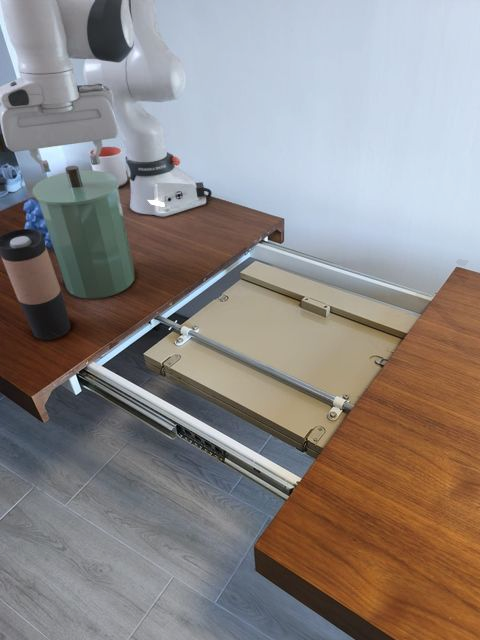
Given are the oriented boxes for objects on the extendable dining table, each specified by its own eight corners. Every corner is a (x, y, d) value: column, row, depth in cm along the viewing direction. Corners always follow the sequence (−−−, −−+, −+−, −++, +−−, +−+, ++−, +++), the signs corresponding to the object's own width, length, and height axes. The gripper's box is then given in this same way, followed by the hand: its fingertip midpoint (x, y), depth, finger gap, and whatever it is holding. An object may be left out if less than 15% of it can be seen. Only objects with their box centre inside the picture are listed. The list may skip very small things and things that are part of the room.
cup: (120, 190, 148) (113, 158, 141) (90, 188, 149) (82, 155, 143) (132, 179, 155) (127, 147, 149) (104, 176, 157) (98, 145, 150)
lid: (108, 171, 104) (103, 148, 101) (129, 198, 93) (124, 174, 89) (28, 184, 98) (21, 161, 95) (41, 215, 87) (33, 190, 84)
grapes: (21, 244, 121) (4, 199, 113) (45, 235, 125) (31, 191, 117) (43, 260, 115) (27, 213, 108) (68, 250, 119) (55, 204, 111)
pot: (124, 256, 117) (105, 169, 103) (143, 287, 106) (125, 194, 92) (60, 272, 111) (31, 182, 97) (73, 305, 101) (42, 210, 87)
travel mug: (31, 322, 96) (-5, 232, 83) (70, 314, 99) (41, 225, 86) (32, 344, 91) (-6, 252, 78) (73, 335, 93) (43, 244, 80)
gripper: (105, 79, 89) (119, 154, 98) (-13, 90, 82) (14, 170, 90) (114, 85, 85) (128, 164, 94) (-10, 98, 77) (18, 181, 86)
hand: (71, 167), depth 92 cm, fingers open, 8 cm apart
